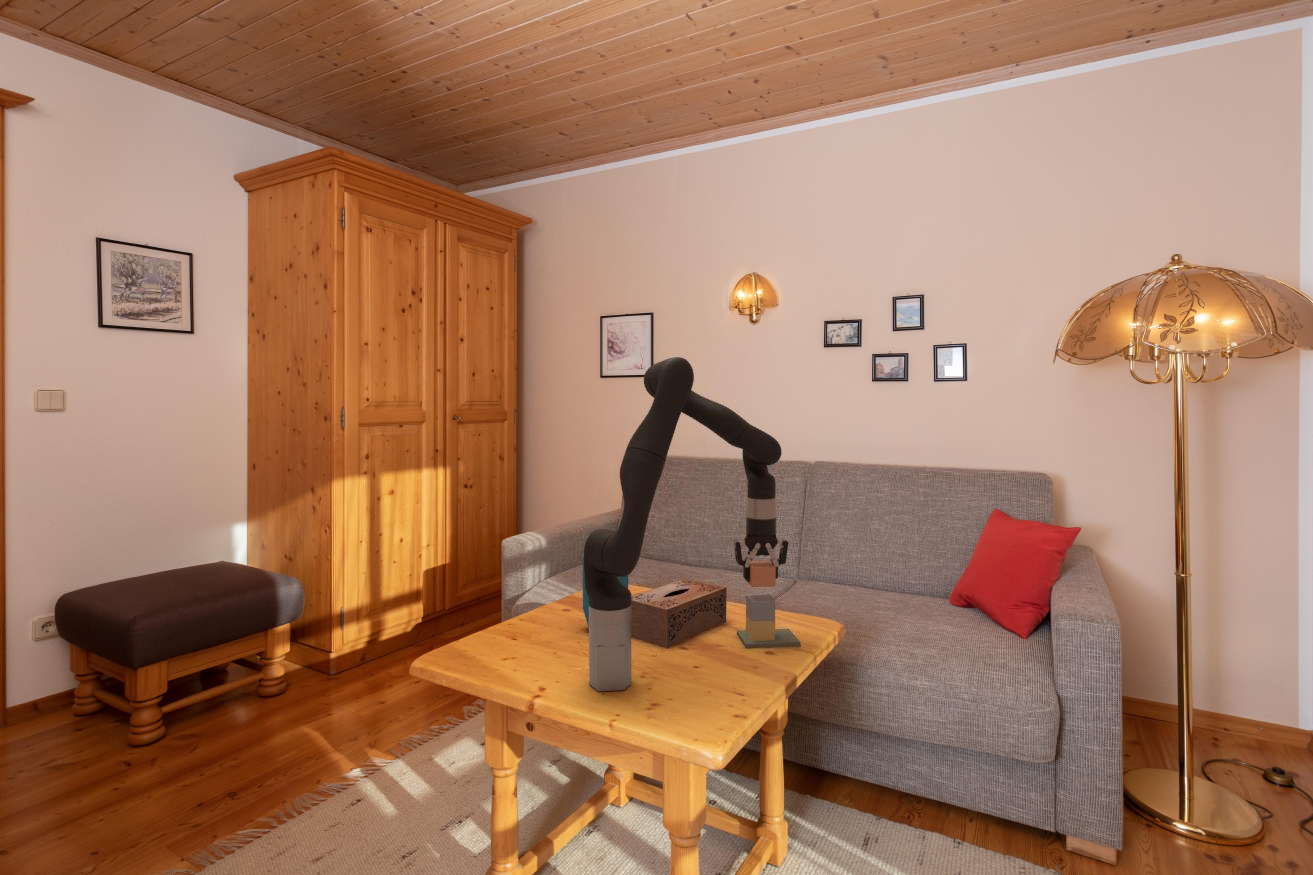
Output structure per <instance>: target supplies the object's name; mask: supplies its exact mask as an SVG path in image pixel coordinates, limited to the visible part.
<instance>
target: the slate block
mask: <svg viewBox="0 0 1313 875" xmlns="http://www.w3.org/2000/svg"><path fill="white" fill-rule="evenodd" d="M746 615H747V616H748V617H749V619H750V620H751V621H775V622H776V600H775V599H774V597H772V596H771V595H770V594H768V593H765V594H763V593H762V594H745V616H746Z"/></svg>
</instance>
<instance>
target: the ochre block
mask: <svg viewBox="0 0 1313 875" xmlns="http://www.w3.org/2000/svg"><path fill="white" fill-rule="evenodd" d="M775 629H776V620H775V621H751V620H750V619H749V617H748V616H747V615H746V614H745V630H746V634H747V635H748V637H749V638H750V639H751V641H766V640H775Z"/></svg>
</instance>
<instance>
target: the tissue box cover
mask: <svg viewBox="0 0 1313 875" xmlns="http://www.w3.org/2000/svg"><path fill="white" fill-rule="evenodd" d="M727 588H728V587H727V586H723V585H722V586H721V585H717V584H712V583H707V582H702V581H699V580H693V579H689V578H683V579H680V580H675V581H673V582H671V583H668V584H664V585H662V586H658V587H656V588H651V589H649V590H646V591H643V592H642V591H641V592H640V593H636V594H634V595H631V598H632V604H631V614H632V617H631V639H632V638H633V639H636V640H639V641H642V642H645V643H648V644H652V645H655V646H658V647H661V648H664V649H668V648H670V647H674V646H675V645H678V644H680V643H682V642H684V641H686V640H689V639H691V638H693V637H695V636H698V635H701V634H703V633H705V632H708V631H710V630H712V629H714V628H717V627H719V626H721V625H724V624H725V623H727Z"/></svg>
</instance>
